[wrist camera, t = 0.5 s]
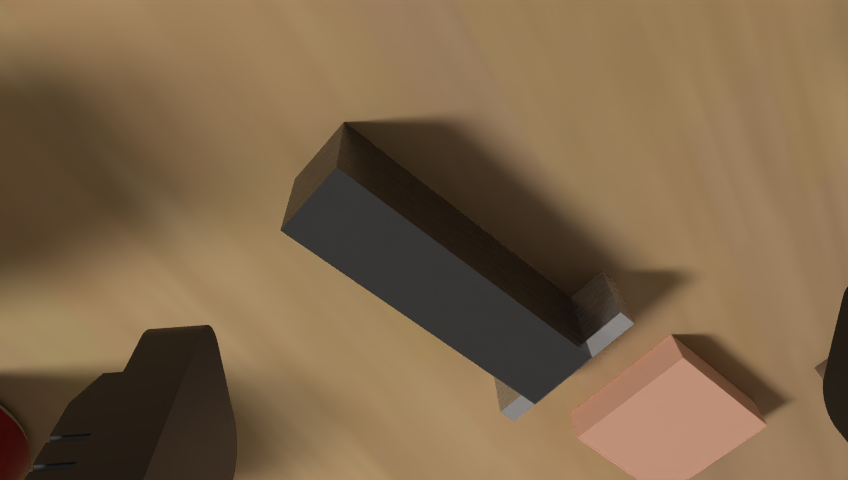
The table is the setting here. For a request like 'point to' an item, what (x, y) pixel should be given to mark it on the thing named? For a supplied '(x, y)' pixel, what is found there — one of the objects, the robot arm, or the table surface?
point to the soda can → (13, 448)
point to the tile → (667, 416)
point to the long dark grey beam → (448, 271)
